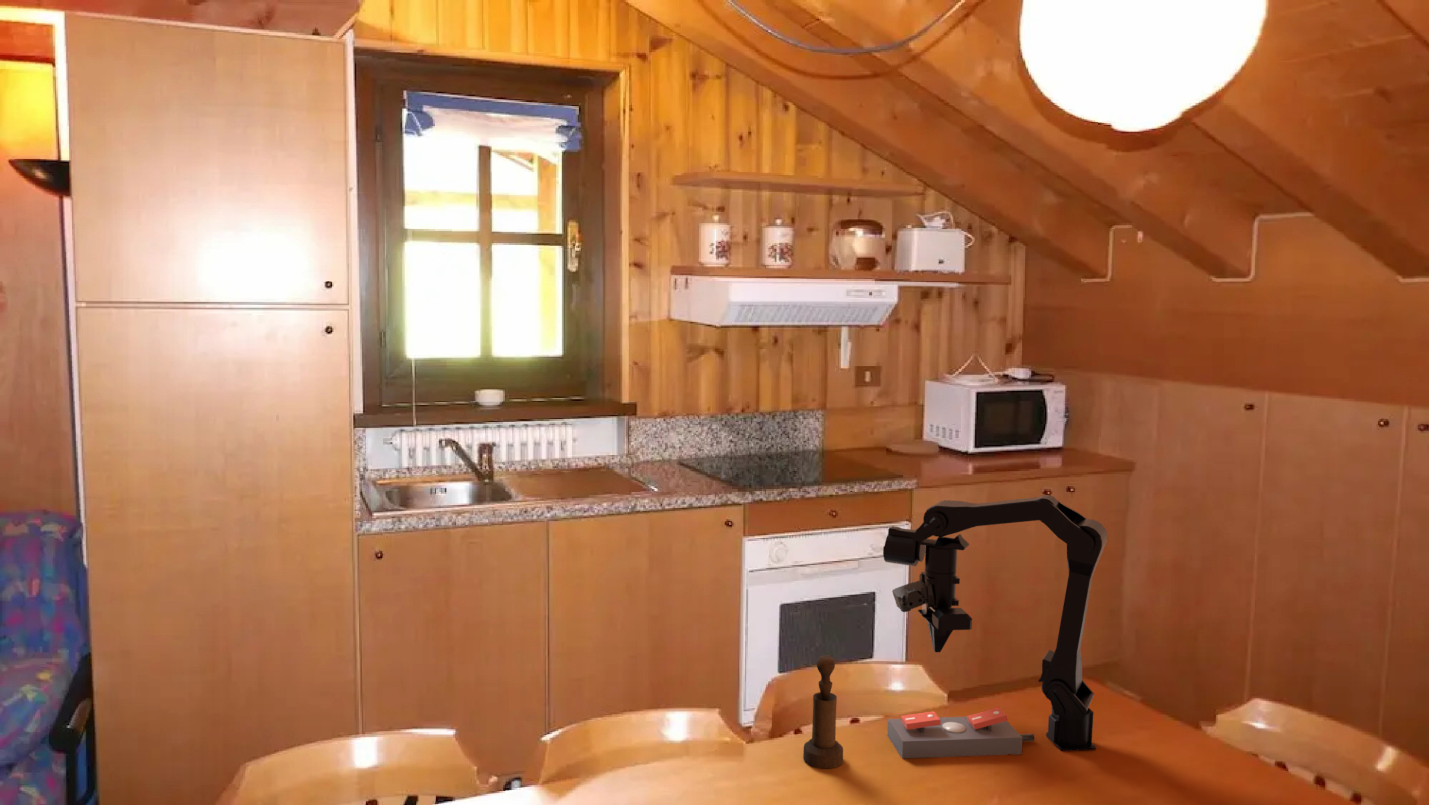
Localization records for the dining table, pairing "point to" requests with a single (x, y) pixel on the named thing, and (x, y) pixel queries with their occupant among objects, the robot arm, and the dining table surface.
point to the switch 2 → (987, 718)
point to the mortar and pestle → (824, 722)
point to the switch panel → (955, 739)
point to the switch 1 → (920, 720)
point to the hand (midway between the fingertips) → (937, 651)
